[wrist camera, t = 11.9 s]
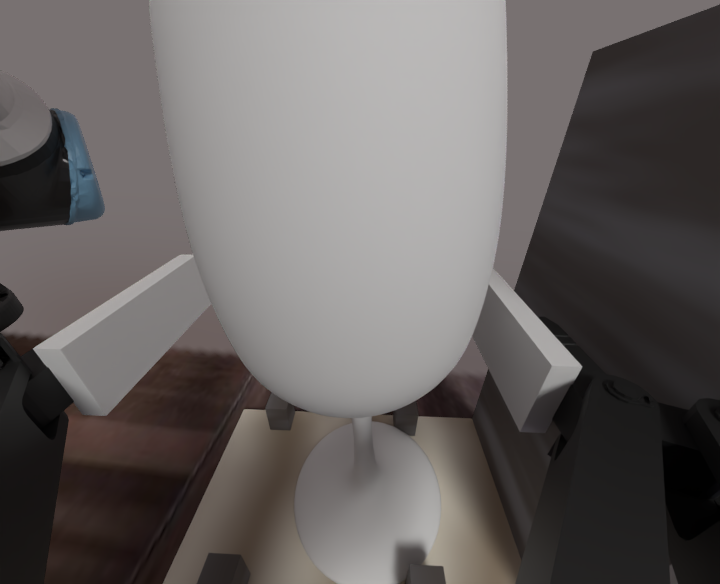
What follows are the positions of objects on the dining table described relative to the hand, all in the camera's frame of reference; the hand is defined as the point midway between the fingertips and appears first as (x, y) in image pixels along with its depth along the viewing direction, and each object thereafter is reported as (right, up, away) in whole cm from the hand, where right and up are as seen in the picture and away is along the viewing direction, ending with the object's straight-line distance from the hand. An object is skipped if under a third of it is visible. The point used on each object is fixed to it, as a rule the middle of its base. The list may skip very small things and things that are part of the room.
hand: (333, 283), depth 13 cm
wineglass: (+2, -13, +3) cm, 13 cm away
